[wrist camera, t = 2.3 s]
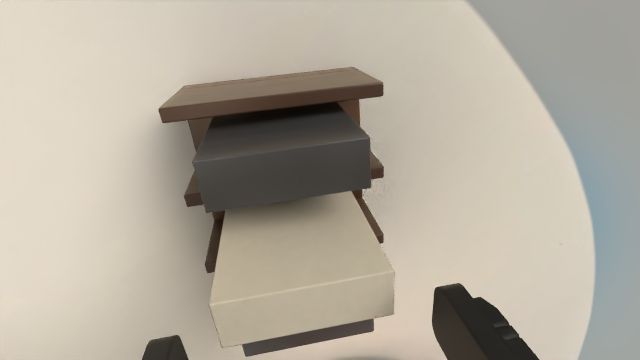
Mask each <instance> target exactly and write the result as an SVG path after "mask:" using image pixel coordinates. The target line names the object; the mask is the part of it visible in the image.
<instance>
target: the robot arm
mask: <svg viewBox="0 0 640 360" xmlns="http://www.w3.org/2000/svg"><path fill="white" fill-rule="evenodd" d="M432 326H433V330H434V334H435V337H436V339H437V341H438V343H439V345H440V347H441V348H442V350H443V352H444V354H445V356H446V357H447V359H448V360H539V359H538V357H537V356H536V355H535V354H534V353H533V351H532V350H531V349H530V348H529V347H528V345H527V344H526V343H525V342H524V341H523V339H522V338H520V337H519V334H518V333H517V332H516V331H515V330H514V328H513V327H512V326H510V325H509V322H508V321H507V320H506V319H505V318H504V316H503V315H502V314H501V313H500V311H499V310H498V309H497V308H496V307H494V306H493V305H491V304H490V303H489V302H487V301H486V300H484V299H483V298H481V297H478V298H472V297H471V295H470V294H469V293H468V291H467V290H466V289H465V288H464V286H463V285H461V284H460V283H456V284H451V285H446V286H440V287H436V288H435V291H434V303H433V315H432ZM142 360H189V359H188V357H187V354H186V352H185V349H184V346H183V344H182V341H181V339H180V337H179V336H178V335H175V336H170V337H164V338H159V339H154V340H151V341H149V343H148V345H147V347H146V350H145V353H144V356H143V358H142Z"/></svg>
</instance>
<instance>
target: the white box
mask: <svg viewBox="0 0 640 360" xmlns="http://www.w3.org/2000/svg"><path fill="white" fill-rule="evenodd" d="M394 275H395V271H394V269H393V268H392V266H391V264H390V262H389V260H388V258H387V256H386V255H385V253H384V251H383V249H382V247H381V245H380V243H379V242H378V240H377V238H376V236H375V234H374V232H373V230H372V229H371V227H370V225H369V223H368V221H367V219H366V217H365V216H364V214H363V212H362V210H361V208H360V206H359V204H358V203H357V201H356V199H355V197H354V195H353V193H352V191H347V192H341V193H334V194H328V195H321V196H315V197H308V198H302V199H295V200H289V201H282V202H275V203H269V204H262V205H256V206H249V207H243V208H236V209H230V210H225V216H224V221H223V227H222V233H221V238H220V244H219V250H218V256H217V261H216V267H215V273H214V278H213V284H212V290H211V295H210V301H209V308H210V311H211V314H212V317H213V320H214V324H215V327H216V330H217V333H218V336H219V340H220V343H221V346H222V348H226V347H231V346H236V345H241V344H246V343H251V342H256V341H261V340H266V339H272V338H277V337H282V336H287V335H292V334H297V333H302V332H307V331H312V330H317V329H322V328H328V327H333V326H338V325H343V324H348V323H353V322H358V321H363V320H368V319H373V318H378V317H384V316H389V315H393V314H394Z"/></svg>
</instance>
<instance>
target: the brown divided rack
mask: <svg viewBox="0 0 640 360" xmlns="http://www.w3.org/2000/svg"><path fill="white" fill-rule="evenodd" d="M381 96H383V82H381V81H379V80H377V79H375V78H373V77H371V76H369V75H367V74H365V73H363V72H361V71H360V70H358V69H356V68H354V67H349V68H340V69H331V70H322V71H313V72H304V73H295V74H286V75H278V76H269V77H260V78H251V79H242V80H233V81H224V82H215V83H206V84H197V85H188V86H184V87H182V88H181V89H180V90H179V91H178V92H177V93H176V94H175V95H174V96H173V97H171V98H170V99H169V100H168V101H167V102H166V103H165V104H164V105H162V106H161V107H160V108H159V113H160V116H161V120H162V122H163V123H169V122H178V121H186V120H188V123H189V127H190V130H191V134H192V138H193V142H194V146H195V149H196V155H195V157H194V159H193V161H192V163H193V167H194V170H195V171H194V173H193V176H192V178H191V180H190V183H189V185H188V187H187V190H186V192H185V194H184V198H185V201H186V204H187V207H190V206H196V205H203V204H204V207H205V211H206V213H210V212H212V214H213V218H214V225H213V229H212V234H211V238H210V243H209V247H208V252H207V256H206V261H205V267H206V271H207V273H212V272H215V267H216V261H217V256H218V250H219V244H220V238H221V233H222V227H223V221H224V216H225V210H230V209H236V208H243V207H249V206H256V205H262V204H269V203H275V202H282V201H289V200H295V199H302V198H308V197H315V196H321V195H328V194H334V193H341V192H347V191H352V193H353V195H354V197H355V199H356V201H357V203H358V204H359V206H360V208H361V210H362V212H363V214H364V216H365V217H366V219H367V221H368V223H369V225H370V227H371V229H372V230H373V232H374V234H375V236H376V238H377V240H378V242H379V243H380V244H381V243H383V233H382V231H381V229H380V227H379V226H378V224H377V222H376V221H375V219H374V217H373V215H372V214H371V212H370V210H369V209H368V207H367V205H366V203H365V202H364V200H363V198H362V189H367V188H371V179H376V178H383V177H384V167H383V165H382V164H381V163H380V162H379V160H378V159H377V158H376V157H375V156H374V155H373V153H372V152H371V151H370V137H369V136H368V135H367V134H366V133H365V132H364V130H363V129H362V128H361V127H360V111H359V99H365V98H373V97H381ZM372 331H374V318H373V319H368V320H363V321H358V322H353V323H348V324H343V325H338V326H333V327H328V328H322V329H317V330H312V331H307V332H302V333H297V334H292V335H287V336H282V337H277V338H272V339H266V340H261V341H256V342H251V343H246V344H242V346H243V350H244V353H245V356H246V357H247V356H252V355H257V354H262V353H267V352H272V351H277V350H282V349H287V348H292V347H297V346H302V345H307V344H312V343H317V342H322V341H327V340H332V339H337V338H342V337H347V336H352V335H357V334H362V333H367V332H372Z"/></svg>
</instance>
